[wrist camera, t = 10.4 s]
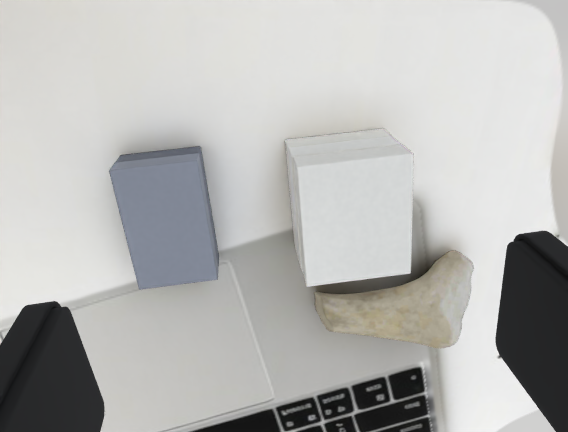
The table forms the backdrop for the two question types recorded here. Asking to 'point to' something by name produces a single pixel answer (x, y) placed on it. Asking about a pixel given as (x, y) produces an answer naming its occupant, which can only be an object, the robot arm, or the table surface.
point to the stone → (406, 306)
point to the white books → (324, 146)
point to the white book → (355, 214)
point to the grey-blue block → (166, 216)
